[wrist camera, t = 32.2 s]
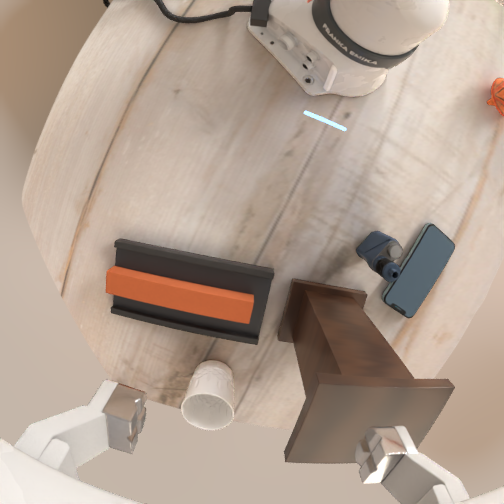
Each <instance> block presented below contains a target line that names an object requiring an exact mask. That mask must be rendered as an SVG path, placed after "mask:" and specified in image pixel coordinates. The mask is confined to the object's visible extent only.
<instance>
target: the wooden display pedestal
mask: <svg viewBox="0 0 504 504" xmlns="http://www.w3.org/2000/svg"><path fill="white" fill-rule="evenodd" d="M366 298H367V294H366V293H365V292H364V291H359V290H354V289H348V288H342V287H337V286H331V285H326V284H320V283H315V282H309V281H304V280H298V279H292V282H291V286H290V290H289V294H288V298H287V302H286V306H285V310H284V314H283V317H282V321H281V325H280V329H279V333H278V341H284V342H290V343H294V347H295V351H296V355H297V360H298V364H299V368H300V373H301V377H302V381H303V386H304V390H305V395H306V400H305V403H304V405H303V408H302V410H301V413H300V415H299V418H298V420H297V422H296V425H295V427H294V430H293V432H292V434H291V437H290V439H289V441H288V444H287V446H286V448H285V451H284V454H285V462H293V463H325V464H327V463H328V464H330V463H331V464H333V463H334V464H335V463H356V459H355V450H356V446H357V445H358V443H359V441H360V440H362V439H363V438H365V432H366V430H367V429H368V428H369V427H371V426H404V427H405V428H406V429H407V431H408V433H409V435H410V437H411V439H412V441H413V443H414V445H415V447H416V449H417V448H418V446H419V445H420V443H421V442H422V440H423V439H424V437H425V436H426V435H427V433H428V432H429V430H430V428H431V427H432V425H433V424H434V422H435V421H436V419H437V417H438V416H439V414H440V413H441V411H442V409H443V408H444V406H445V404H446V402H447V401H448V399H449V397H450V395H451V394H452V392H453V390H454V388H455V387H454V385H453V384H452V383H451V382H450V381H449V379H414V377H413V376H412V374H411V373H410V372H409V370H408V369H407V368H406V366H405V365H404V363H403V362H402V361H401V359H400V358H399V357H398V355H397V354H396V353H395V351H394V350H393V349H392V347H391V346H390V345H389V343H388V342H387V341H386V339H385V338H384V337H383V335H382V334H381V333H380V331H379V330H378V329H377V328H376V326H375V325H374V324H373V322H372V321H371V320H370V318H369V317H368V316H367V315H366V313H365V312H364V311H363V307H364V304H365V301H366Z"/></svg>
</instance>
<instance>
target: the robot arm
mask: <svg viewBox="0 0 504 504" xmlns="http://www.w3.org/2000/svg"><path fill="white" fill-rule="evenodd" d="M154 1H155V2H156V4H157V5H158V7H159V8H160V10H161V12H162V13H163V14H164V15H165V16H166V17H167V18H168V19H170V20H173V21H176V22H181V23H198V22H204V21H208V20H212V19H217V18H223V17H227V16H231V15H233V14H234V13H235V12H251V15H250V18H249V21H248V26H247V28H248V30H249V31H250V33H251V34H252V35H253V36H254V37H255V38H256V39H257V40H258V41H259V42H260V43H261V44H262V45H263V46H264V47H265V48H266V49H267V50H268V51H269V52H270V53H271V54H272V55H273V56H274V57H275V58H276V59H277V60H278V61H279V63H280V64H281V65H282V66H283V67H284V68H285V69H286V70H287V71H288V72H289V74H290V75H291V76H292V77H293V78H294V79H295V80H296V81H297V83H298V84H299V85H300V86H301V87H302V88H303V90H304V91H305V92H306V93H307V94H309V95H312V96H318V95H324V94H328V93H331V94H337V95H342V96H349V97H357V96H363V95H367V94H369V93H371V92H373V91H375V90H376V89H377V88H379V87H380V86H381V84H382V83H383V82H384V80H385V78H386V75H387V72H388V71H389V69H390V68H392V67H394V66H397V65H399V64H400V63H402V62H403V61H404V60H406V59H407V58H408V57H410V56H411V55H412V54H413V53H414V51H415V50H416V48H417V47H418V46H419V44H420V43H421V42H423V41H424V40H425V39H427V38H428V37H430V36H431V35H432V34H434V33H435V32H437V31H438V30H440V29H441V28H442V27H443V25H444V24H445V22H446V19H447V17H448V13H449V0H254V2H253V6H233V7H231V8H229V10H228V11H224V12H220V13H216V14H212V15H207V16H201V17H180V16H176V15H174V14H172V13H170V12H169V11H168V10H167V8H166V7H165V5H164V3H163V2H162V0H154ZM495 1H496V2H498V3H499V4H501V5H502V6H504V0H495ZM103 3H104V4H105V6H106V7H107V8H108V7H109V6H110V2H109V1H108V0H103ZM272 44H273V45H272ZM306 79H308V80H310V83H306V81H305V80H306ZM304 114H306V115H308V116H311V117H313V118H315V119H318V120H320V121H323V122H325V123H327V124H330V125H332V126H334V127H336V128H339V129H341V130H343V131H345V130H346V129H347V128H345V127H343V126H341V125H338V124H336V123H334V122H332V121H329V120H327V119H325V118H322V117H320V116H318V115H315V114H313V113H310V112H308V111H305V112H304ZM146 398H147V393H146V392H144V391H141V390H138V389H134V388H132V387H129V386H126V385H123V384H120V383H116V382H113V381H111V380H108V379H106V380H104V381H103V383H102V384H101V385H100V387H99V388H98V390H97V392H96V393H95V395H94V396H93V398H92V399H91V401H90V402H89V404H88V405H87V406H84V405H82V406H80V407H77V408H74V409H71V410H69V411H66V412H64V413H61V414H58V415H55V416H52V417H50V418H46V419H44V420H41V421H38V422H35V423H32V424H30V425H29V427H28V428H27V429H26V431H25V432H24V433H23V435H22V436H21V437H20V439H19V440H18V441H17V443H16V444H15V445H14V446H12V445H11V444H9V443H7V442H6V441H4V440H3V439H1V438H0V504H145V503H142V502H138V501H135V500H132V499H129V498H126V497H123V496H120V495H116V494H114V493H111V492H108V491H106V490H103V489H100V488H98V487H95V486H93V485H90V484H88V483H85V482H83V481H80V479H79V476H78V474H77V471H76V468H77V467H79V466H81V465H82V464H84V463H86V462H87V461H89V460H91V459H92V458H94V457H96V456H97V455H99V454H100V453H102V452H104V451H105V450H107V449H109V447H111V448H114V449H117V450H120V451H123V452H127V453H130V454H132V453H133V451H134V449H135V446H136V443H137V438H138V437H137V435H138V434H139V433H141V431H142V428H143V425H144V422H145V416H146V408H145V407H144V405H145V402H146ZM355 459H356V463H358V464H359V465H360V466H361V468H360V470H359V473H360V476H361V480H362V483H381V484H382V485H383V486H384V487H385V488H386V489H387V490H388V491H389V492H390V493H391V494H392V495H393V496H394V497H395V498H396V499H397V500H398V501H399V502H400V503H401V504H504V486H502V487H500V488H497V489H495V490H492V491H490V492H487V493H484V494H481V495H479V496H476V497H473V498H469V496H468V494H467V492H466V490H465V488H464V486H463V484H462V482H461V480H460V479H459V478H458V477H456V476H454V475H453V474H452V473H450V472H449V471H447V470H446V469H444V468H442V467H441V466H439V465H438V464H437V463H435V462H434V461H432V460H431V459H430V458H428V457H426V456H425V455H424V454H422V453H418V451H417V449H416V447H415V445H414V443H413V441H412V439H411V437H410V435H409V433H408V431H407V429H406V428H405V427H404V426H371V427H369V428H368V429H367V430H366V432H365V438H363V439H362V440H360V441H359V443H358V445H357V446H356V450H355Z"/></svg>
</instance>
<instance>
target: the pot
mask: <svg viewBox="0 0 504 504" xmlns="http://www.w3.org/2000/svg"><path fill="white" fill-rule="evenodd" d="M491 95H492V97H491V99H489V100H488V101H487V104H488V105H493V106H495V107H496V109H497V110H498V111H499V113H500V114H501V115H502V116H504V79H503V78H497V79H496V80H495V81H494V82H493V84H492V88H491Z"/></svg>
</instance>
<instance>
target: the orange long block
mask: <svg viewBox="0 0 504 504" xmlns="http://www.w3.org/2000/svg"><path fill="white" fill-rule="evenodd" d="M106 293H109V294H113V295H117V296H121V297H125V298H129V299H133V300H137V301H141V302H145V303H150V304H154V305H158V306H162V307H167V308H171V309H176V310H180V311H185V312H190V313H194V314H199V315H204V316H209V317H214V318H219V319H224V320H230V321H235V322H240V323H246V324H249V322H250V317H251V313H252V308H253V304H254V295H252V294H247V293H241V292H236V291H231V290H226V289H221V288H216V287H211V286H206V285H201V284H196V283H191V282H186V281H181V280H177V279H172V278H167V277H163V276H158V275H153V274H149V273H144V272H140V271H136V270H131V269H127V268H122V267H118V266H113V267H112V268H110V269H109V270H108V271H107V274H106Z"/></svg>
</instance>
